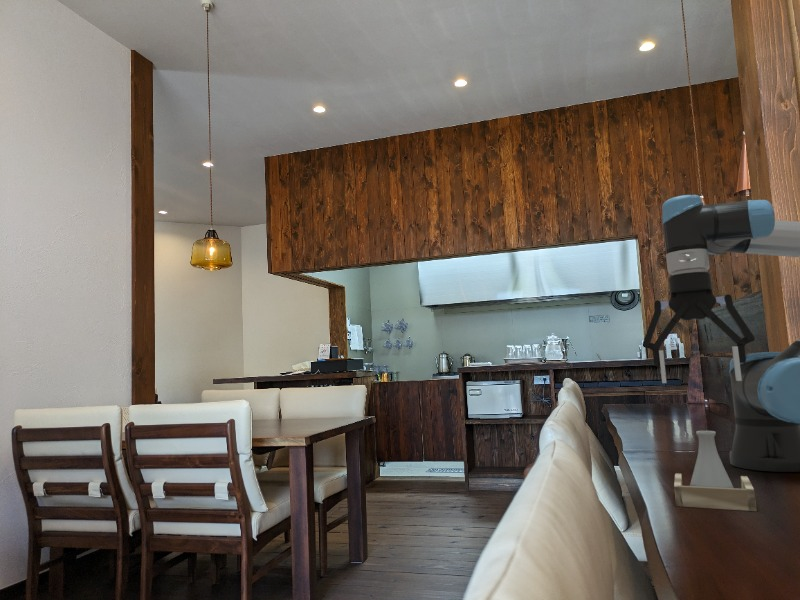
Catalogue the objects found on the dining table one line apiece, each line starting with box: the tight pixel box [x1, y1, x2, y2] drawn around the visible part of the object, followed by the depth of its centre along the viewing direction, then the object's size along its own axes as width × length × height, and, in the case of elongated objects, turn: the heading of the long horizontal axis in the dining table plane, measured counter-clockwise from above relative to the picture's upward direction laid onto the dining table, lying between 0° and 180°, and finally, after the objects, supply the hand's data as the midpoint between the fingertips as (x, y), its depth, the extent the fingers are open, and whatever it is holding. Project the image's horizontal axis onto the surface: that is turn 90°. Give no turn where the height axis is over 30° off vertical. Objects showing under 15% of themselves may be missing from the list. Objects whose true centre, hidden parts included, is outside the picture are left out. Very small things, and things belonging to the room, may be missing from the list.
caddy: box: [673, 473, 758, 512], centre depth 94 cm, size 12×11×3 cm
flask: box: [689, 430, 735, 488], centre depth 103 cm, size 7×7×10 cm
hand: (700, 381), depth 113 cm, fingers open, 12 cm apart
